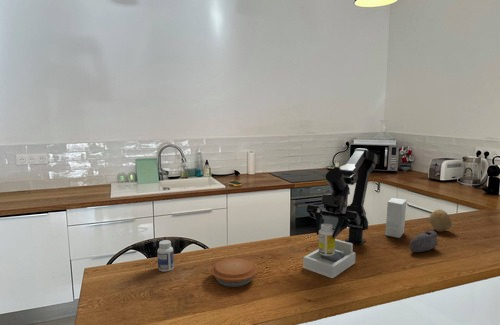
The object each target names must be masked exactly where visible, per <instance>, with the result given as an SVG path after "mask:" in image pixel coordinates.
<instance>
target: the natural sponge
mask: <svg viewBox="0 0 500 325" xmlns="http://www.w3.org/2000/svg"><path fill="white" fill-rule="evenodd" d="M428 222H429V224H430V225H431V226H432V228H433V229H434V231H437V232H444V231H447V230H449V229H451V228H452V226H453V223H452V219H451V218H450V215H449V214H448V213H447V212H446V211H445V210H443V209H435V210H434V211H432V213H430V215H429V217H428Z"/></svg>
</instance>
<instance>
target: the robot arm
mask: <svg viewBox="0 0 500 325" xmlns="http://www.w3.org/2000/svg"><path fill="white" fill-rule="evenodd" d="M377 164H378V155H377V154H376V152H373V151H370V150H369V149H367V148H361V147H360V148H355V149H354V150H353V154H352V155H351V157H350V158H349V160H348V161H347V162H346V164H344V165H341V166H339V167H338V166H334V168H332V169H331V170H329V171H327V173H326V174H325V179H326V182H327V184H328V186H329V188H330V189H331V190H332V191H331V194H329V195H327V194H322V196H321V202H320V204H321V205H323V208H324V209H321V208H320V206H319V205H317V204H311V203H309V204H308V205H306V208H305V211H306V213H307V215H308V216H309V217H310V218H312V219H315V222H316V223H315V225H316V226H315V228H316V229H315V230H316V231H315V232H316V235H317V236H319V230H320V229H321V224H324V223H325V219H324V217H330V218H334V219H335V218H336V219H337V223H336V226H335V228H334V229H333V230H334V233H333V238H335V239H336V238H337V237H338V235H339V234H340V233H342V232H343V231H344V230H345V229H347V228H348V238H346V239H345V241H344V242H348V243H352V244H353V245H358V246H359V245H362V244H363V243H365V242H366V239H365V238H364V231H366V230H368V231H369V220H368V218H367V212H366V210H365V207H364V204H365V199H366V194H367V188H368V184H369V179H370V174H371V173H372V172H373V171H374V170H375V169H376V165H377ZM354 184H355V186H354V187H355V188H354V193H353V197H352V202H351V203H350V205H346V202H347V200H348V197H349V195H350V193H351V192H350V187H349V185H351V186H353V185H354ZM344 208H346V209H345V212H344V213H343V211H344Z"/></svg>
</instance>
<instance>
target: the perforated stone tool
mask: <svg viewBox="0 0 500 325" xmlns="http://www.w3.org/2000/svg"><path fill="white" fill-rule="evenodd" d="M437 237H438V233H437V232H436V230H428V231H425V232H422V233H419V234H417V235H416V236H414V237H413V238H412V239H411V240H410V242H409V250H410V251H411V252H412V253H422V252H423V253H424V252H427V251H431V250H432V249H434V248H436V247H437V245H438V238H437Z"/></svg>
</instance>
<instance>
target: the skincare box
mask: <svg viewBox="0 0 500 325" xmlns="http://www.w3.org/2000/svg"><path fill="white" fill-rule="evenodd" d="M386 209H387V210H386V221H385V236H387V237H393V238H398V239H401V237H402V236H403V235H404V233H405V221H406V210H407V199H405V198H404V199H403V198H397V197H396V198H395V197H391V198H390V199H389V200H388V201H387V207H386Z"/></svg>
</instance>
